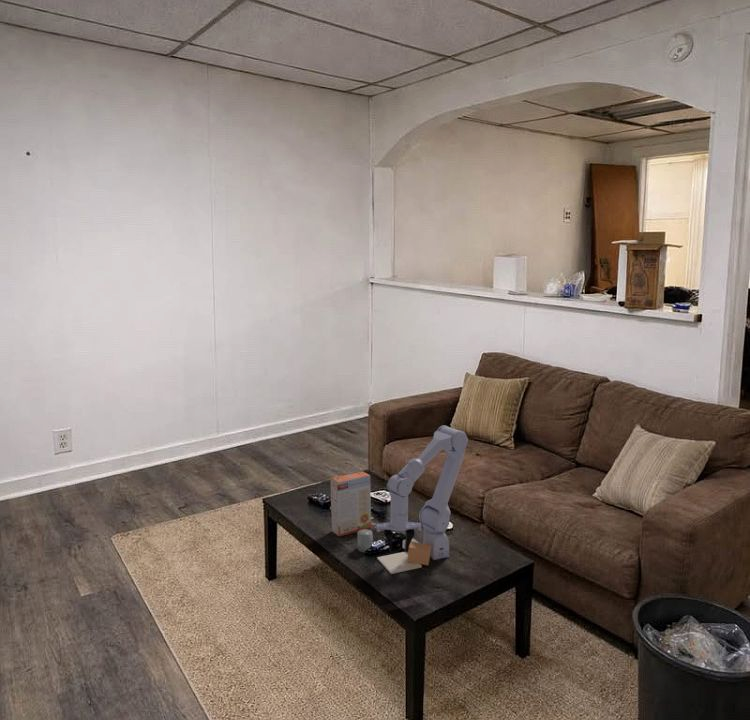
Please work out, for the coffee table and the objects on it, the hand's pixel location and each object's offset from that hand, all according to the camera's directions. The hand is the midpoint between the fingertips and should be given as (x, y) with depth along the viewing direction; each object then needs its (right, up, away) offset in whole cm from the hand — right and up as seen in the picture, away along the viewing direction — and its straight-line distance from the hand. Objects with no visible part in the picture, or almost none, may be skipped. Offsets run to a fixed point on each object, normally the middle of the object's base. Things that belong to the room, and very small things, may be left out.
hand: (398, 551), depth 206 cm
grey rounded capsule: (-11, -3, +11) cm, 16 cm away
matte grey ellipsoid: (+2, -1, +22) cm, 22 cm away
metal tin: (+5, -3, +11) cm, 12 cm away
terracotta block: (+4, -1, +2) cm, 4 cm away
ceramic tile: (0, -4, +1) cm, 4 cm away
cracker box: (-17, 0, +26) cm, 31 cm away
